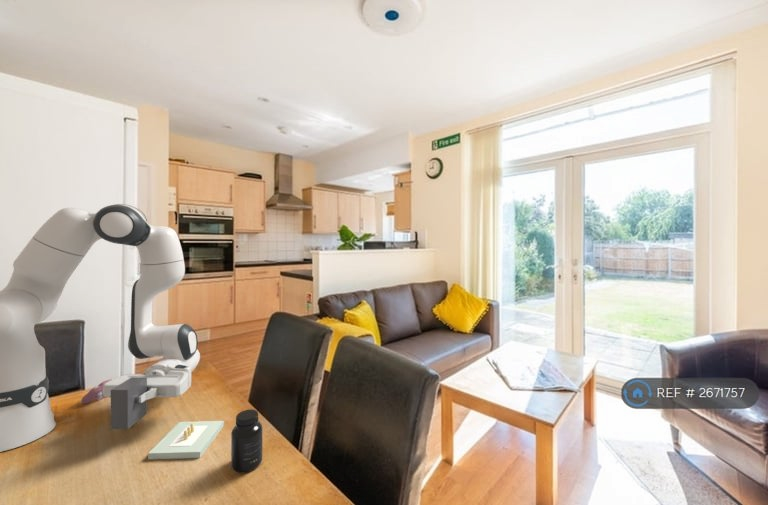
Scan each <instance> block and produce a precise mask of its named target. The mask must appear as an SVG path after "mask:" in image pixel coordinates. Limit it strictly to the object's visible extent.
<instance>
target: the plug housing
mask: <svg viewBox="0 0 768 505" xmlns="http://www.w3.org/2000/svg"><path fill="white" fill-rule="evenodd" d="M145 392H147V378H130V379H128V380H126V381H125V382H123V383H121V384H120V385H118V386H116V387H115V388H113V389H111V397H110V430H129V429H130V428H132V426H133V425H135V424H136V423H137V422H138V421H140V420H142V418H143V417H145V416H146V415H147V414H148V400H145V401H144V402H142V403H136V402H135V401H136V400H135V398H136V396H137V395H139V394H140V393H145Z"/></svg>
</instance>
